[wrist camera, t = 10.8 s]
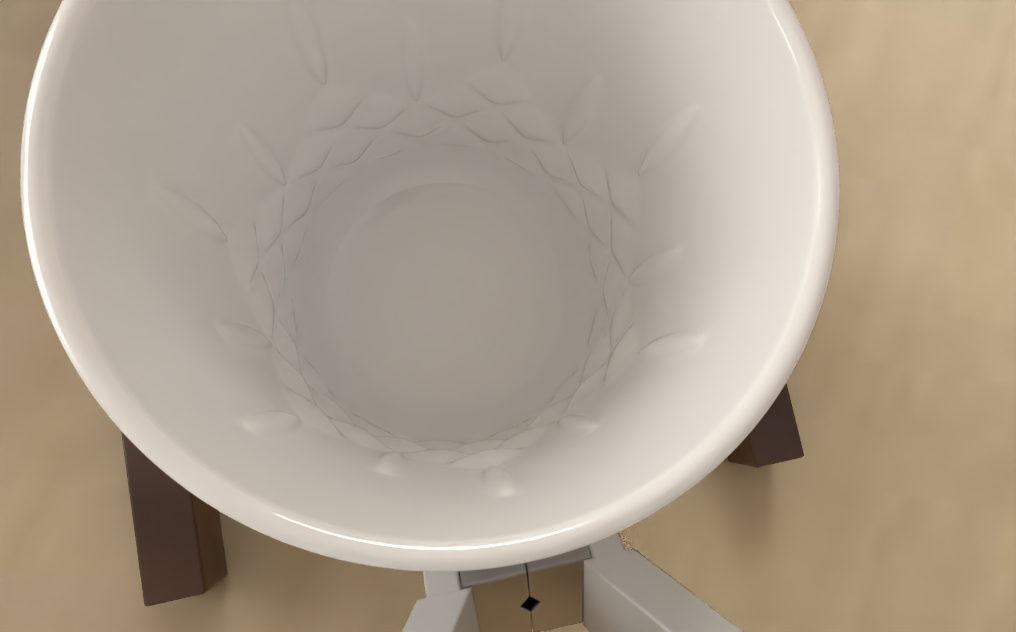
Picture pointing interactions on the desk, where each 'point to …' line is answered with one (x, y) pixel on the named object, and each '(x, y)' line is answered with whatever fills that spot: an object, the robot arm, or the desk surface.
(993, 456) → the desk surface
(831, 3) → the desk surface
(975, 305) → the desk surface
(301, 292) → the white cup
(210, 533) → the dock
